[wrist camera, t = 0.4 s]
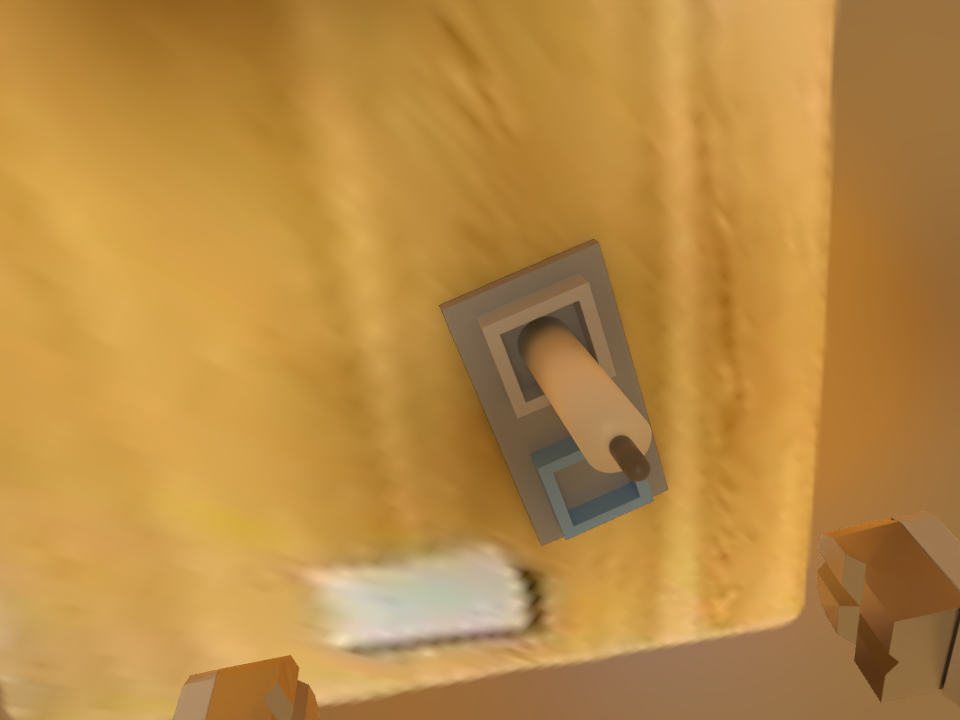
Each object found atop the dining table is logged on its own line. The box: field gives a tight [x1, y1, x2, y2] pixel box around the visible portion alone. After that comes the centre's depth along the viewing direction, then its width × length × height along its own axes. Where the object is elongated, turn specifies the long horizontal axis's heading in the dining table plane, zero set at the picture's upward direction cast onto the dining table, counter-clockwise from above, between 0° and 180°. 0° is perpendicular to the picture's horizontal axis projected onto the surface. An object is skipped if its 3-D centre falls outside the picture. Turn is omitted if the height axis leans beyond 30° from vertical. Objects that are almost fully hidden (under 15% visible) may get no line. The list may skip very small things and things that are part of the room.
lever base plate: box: [439, 239, 668, 546], centre depth 54 cm, size 24×12×3 cm, turn 20°
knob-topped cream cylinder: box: [517, 316, 652, 482], centre depth 44 cm, size 4×4×17 cm
